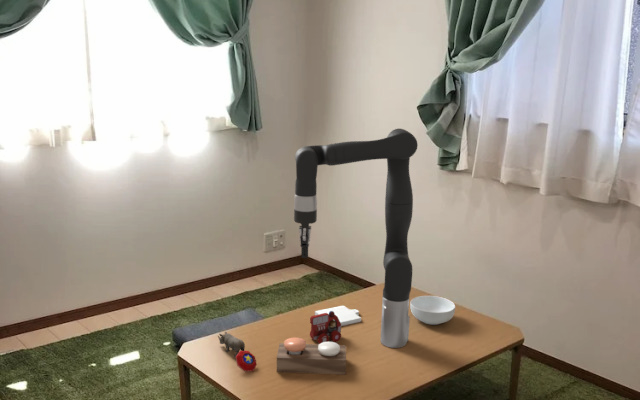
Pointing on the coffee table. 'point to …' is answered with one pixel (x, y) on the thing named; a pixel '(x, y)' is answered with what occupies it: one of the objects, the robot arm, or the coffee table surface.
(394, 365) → the coffee table surface
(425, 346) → the coffee table surface
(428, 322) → the cereal bowl
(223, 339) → the rhino figurine
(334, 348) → the white mushroom knob
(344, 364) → the plunger block
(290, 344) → the peach dome
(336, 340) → the toy fire truck
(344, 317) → the mounting plate
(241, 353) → the button
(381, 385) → the coffee table surface
